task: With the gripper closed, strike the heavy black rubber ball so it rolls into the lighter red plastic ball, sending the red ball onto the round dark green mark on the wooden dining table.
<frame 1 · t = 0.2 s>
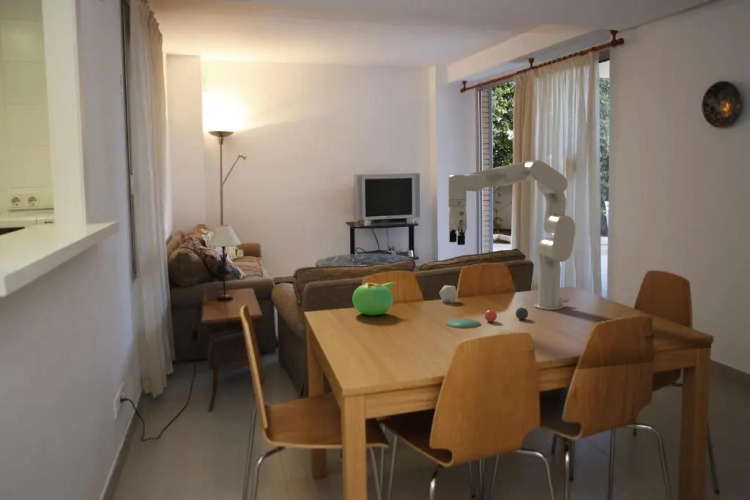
hand: (457, 243, 245), 31 cm above the table, tool pointing down, fingers open, 9 cm apart
green apple: (373, 314, 249), on the table
red ball: (490, 315, 234), on the table
black ball: (521, 313, 237), on the table
die: (448, 302, 272), on the table
green mark: (463, 323, 232), on the table
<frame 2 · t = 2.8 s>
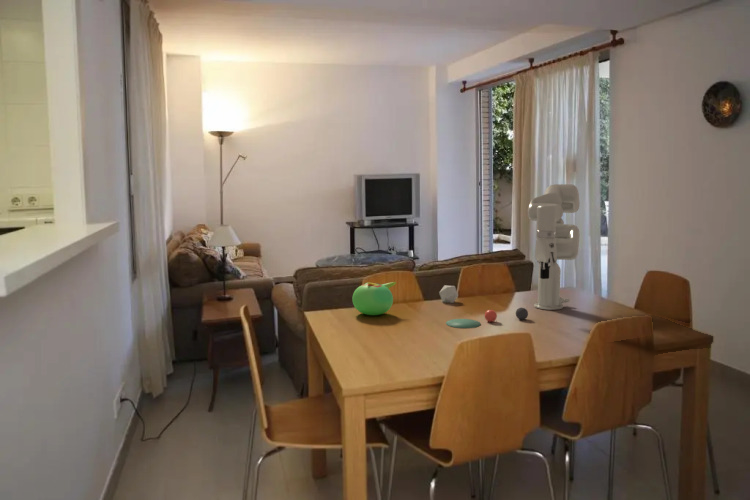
hand: (544, 278, 238), 17 cm above the table, tool pointing down, fingers closed
nothing on the table moved.
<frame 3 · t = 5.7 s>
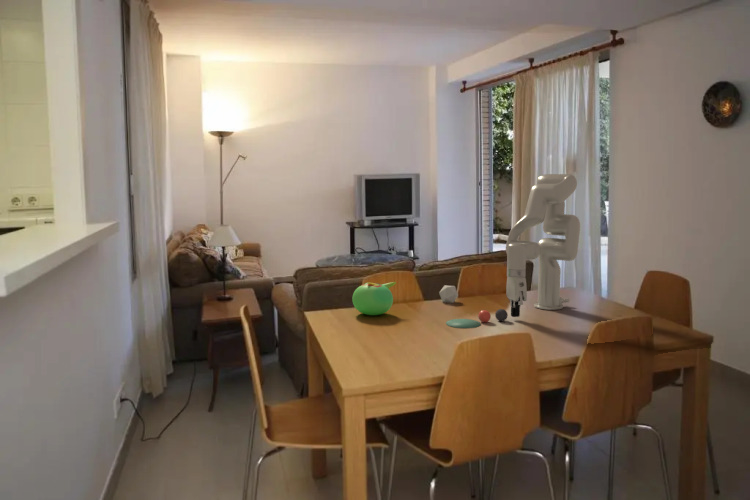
hand: (515, 316, 237), 2 cm above the table, tool pointing down, fingers closed
red ball: (484, 316, 234), on the table
black ball: (501, 315, 235), on the table
everything else where it was.
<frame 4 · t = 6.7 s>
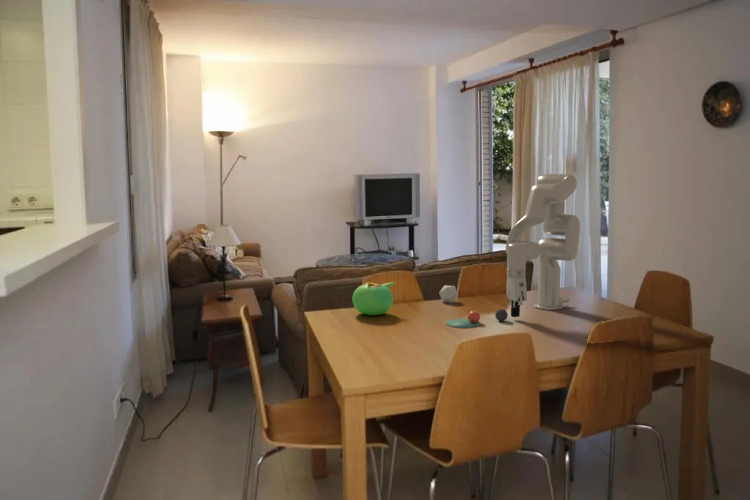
hand: (515, 316, 237), 2 cm above the table, tool pointing down, fingers closed
red ball: (473, 316, 233), on the table
everything else where it was.
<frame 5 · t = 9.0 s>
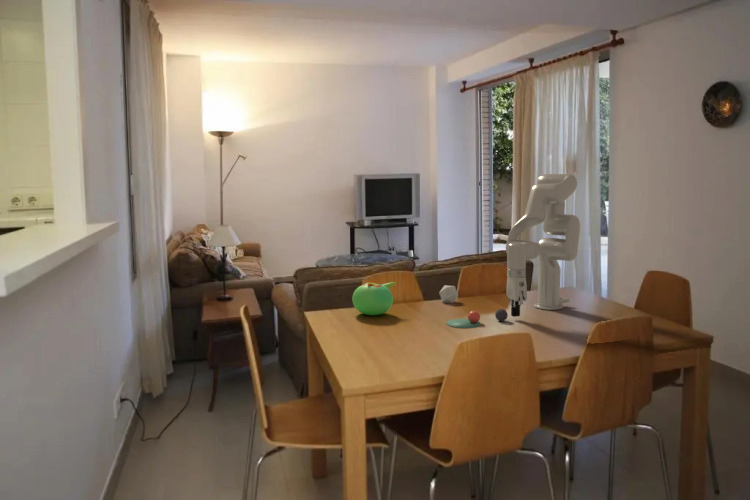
hand: (515, 315, 237), 2 cm above the table, tool pointing down, fingers closed
nothing on the table moved.
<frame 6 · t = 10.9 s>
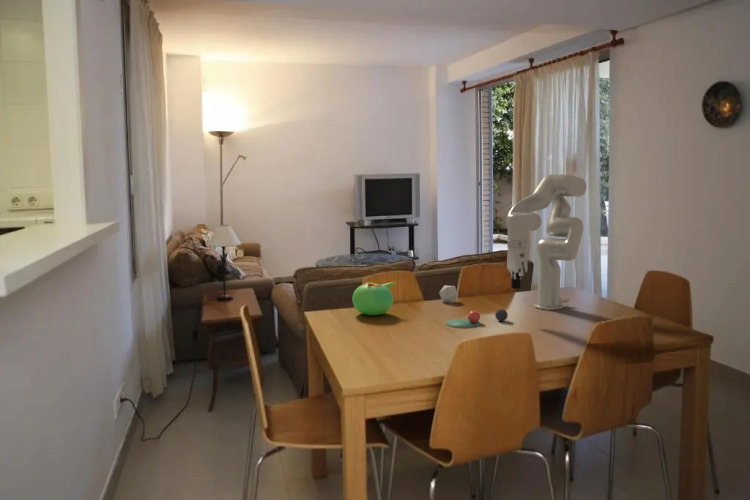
hand: (515, 288, 235), 14 cm above the table, tool pointing down, fingers closed
nothing on the table moved.
at the end: red ball 4.6 cm from the green mark (horizontally); red ball never touched the robot; black ball first touched red ball at 5.4 s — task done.
